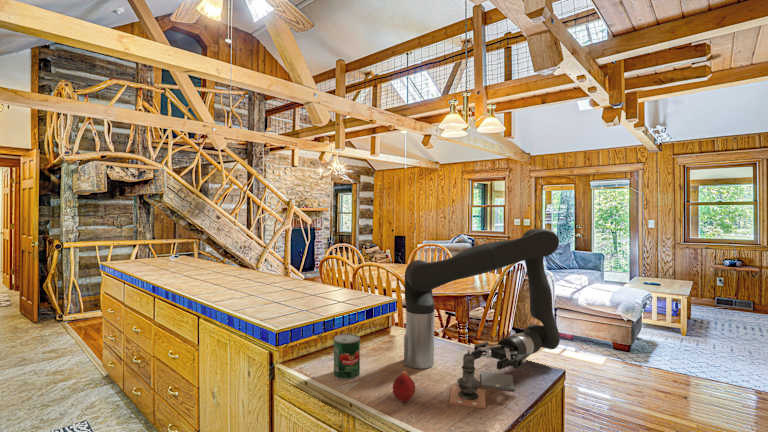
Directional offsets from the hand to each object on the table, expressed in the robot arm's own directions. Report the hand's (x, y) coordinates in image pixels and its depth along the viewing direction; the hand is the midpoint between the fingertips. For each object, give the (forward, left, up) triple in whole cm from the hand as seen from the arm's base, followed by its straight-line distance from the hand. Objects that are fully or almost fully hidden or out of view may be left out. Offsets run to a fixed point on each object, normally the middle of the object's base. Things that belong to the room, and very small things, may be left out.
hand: (484, 360), depth 107 cm
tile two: (-4, -6, -8) cm, 11 cm away
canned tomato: (-40, -1, -8) cm, 41 cm away
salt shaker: (-4, -6, -8) cm, 11 cm away
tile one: (+4, +6, -8) cm, 11 cm away
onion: (-20, -13, -8) cm, 26 cm away
